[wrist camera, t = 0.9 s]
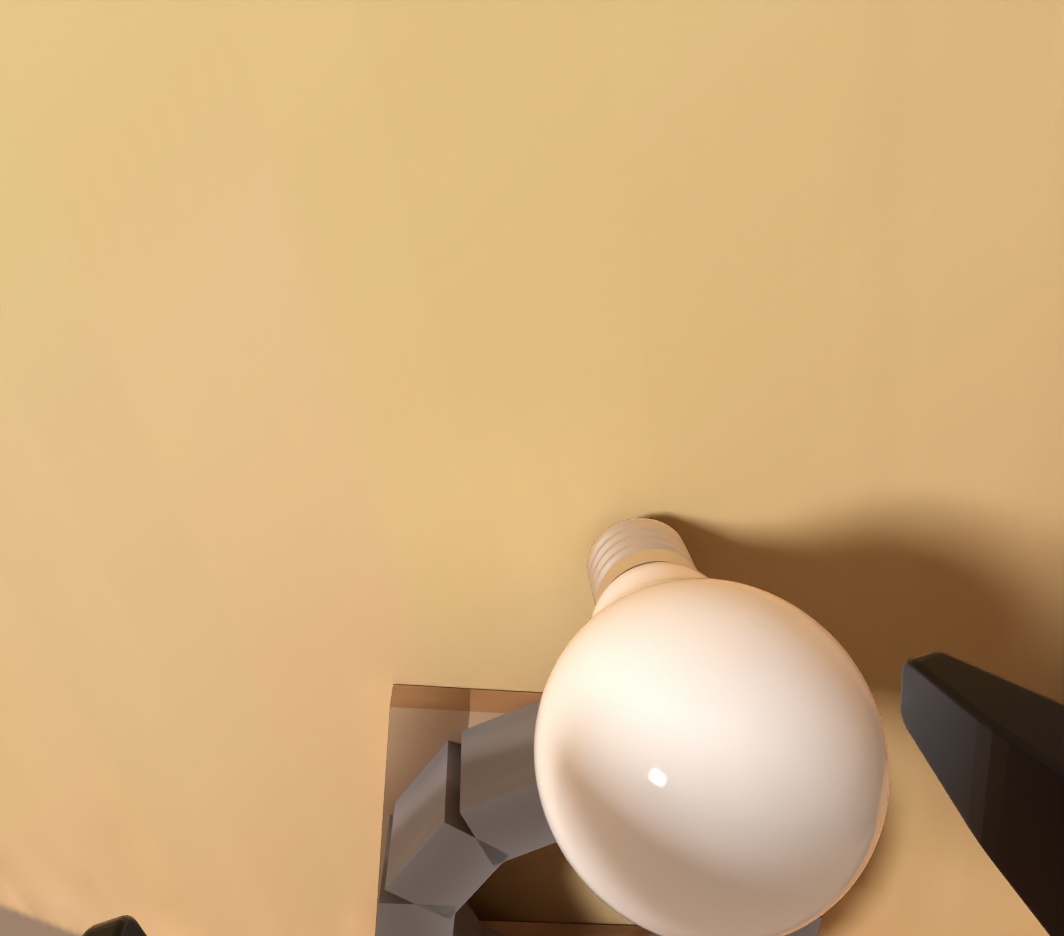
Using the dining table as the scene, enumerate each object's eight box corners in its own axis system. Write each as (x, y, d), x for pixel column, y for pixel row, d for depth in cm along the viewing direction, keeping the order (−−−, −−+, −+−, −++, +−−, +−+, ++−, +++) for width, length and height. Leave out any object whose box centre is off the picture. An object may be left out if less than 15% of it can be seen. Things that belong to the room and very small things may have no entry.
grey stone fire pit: (816, 686, 25) (875, 784, 21) (734, 970, 29) (770, 1092, 26) (394, 661, 24) (379, 760, 20) (375, 960, 28) (359, 1087, 25)
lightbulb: (710, 405, 21) (918, 663, 11) (774, 603, 24) (995, 963, 14) (479, 496, 22) (480, 818, 12) (565, 680, 24) (628, 1079, 14)
